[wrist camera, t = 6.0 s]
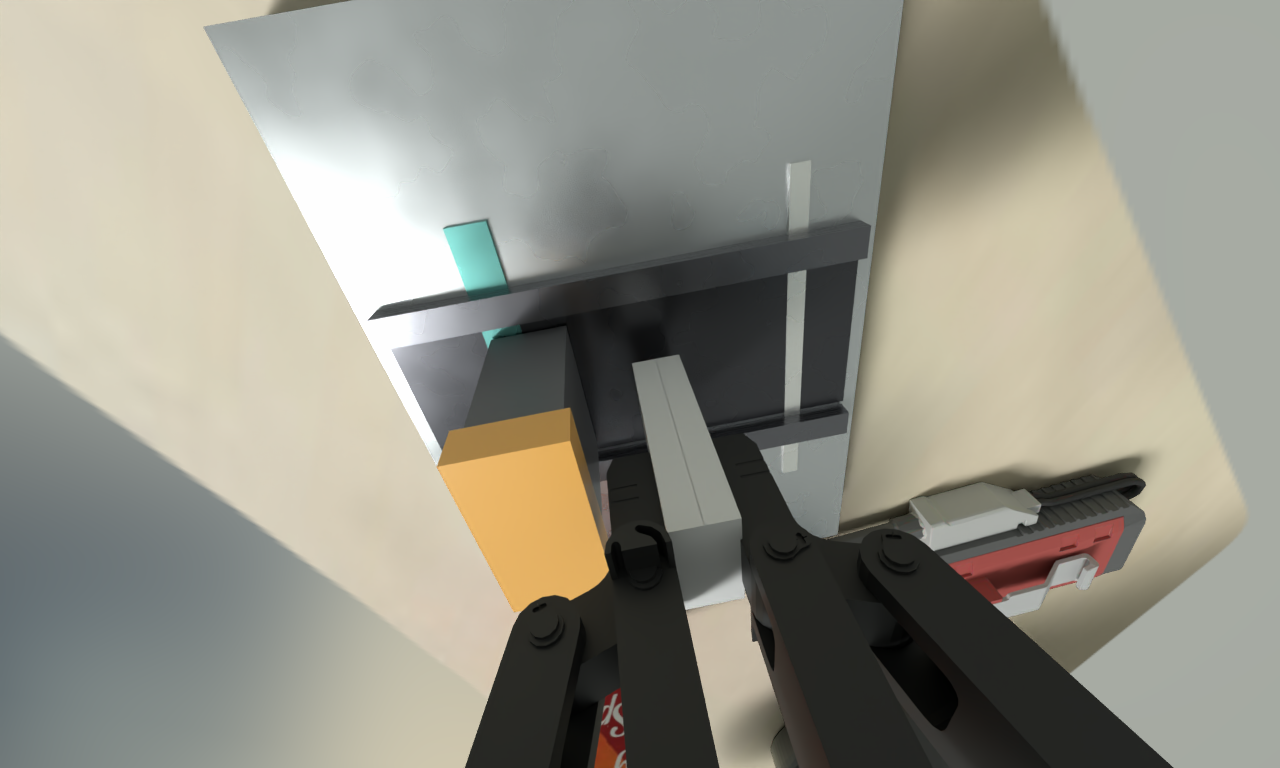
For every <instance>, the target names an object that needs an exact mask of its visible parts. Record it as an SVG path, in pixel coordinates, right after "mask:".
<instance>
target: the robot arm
mask: <svg viewBox="0 0 1280 768" xmlns="http://www.w3.org/2000/svg"><path fill="white" fill-rule="evenodd" d="M632 366H633V372H634V377H635V383H636V389H637V394H638V400H639V405H640V411H641V416H642V422H643V427H644V433H645V438H646V442H647V447H648V452H646V453H641V454H635V455H630V456H625V457H620V458H614V459H613V460H612V462H611V464H610V467H609V469H608V471H607V473H606V476H607V488H608V500H609V512H610V524H611V536H610V537H609V539H608V541H607V542H606V546H605V552H604V555H605V559H606V562H607V566H608V569H609V571H608V573H607V574H606V576H605V578H604V579H603V580H602V581H601V582H600V583H599V584H598V585H596V586H595V587H593V588H592V589H590V590H589V591H587V592H585V593H583V594H582V595H580V596H578V597H576V598H574V599H572V600H569V599H568V598H566V597H562V596H558V595H552V596H545V597H541V598H540V599H538V600H536V601H534V602H532V603H530V604H529V605H528V606H527V607H526V608H525V609H524V610H523V611H522V612H521V613H520V614H519V616H518V618H517V620H516V622H515V624H514V625H513V628H512V631H511V634H510V637H509V640H508V643H507V645H506V648H505V651H504V654H503V657H502V660H501V663H500V666H499V669H498V672H497V675H496V678H495V681H494V684H493V687H492V690H491V693H490V695H489V698H488V701H487V704H486V707H485V710H484V713H483V716H482V719H481V722H480V725H479V728H478V731H477V734H476V737H475V740H474V743H473V746H472V749H471V751H470V754H469V757H468V761H467V763H466V766H465V768H594V766H595V760H596V754H597V747H598V741H599V735H600V728H601V722H602V716H603V710H604V703H605V697H606V696H607V695H609V694H611V693H612V692H614V691H616V690H617V689H619V688H620V689H621V701H622V713H623V726H624V738H625V751H626V763H627V768H719V764H718V759H717V754H716V750H715V745H714V740H713V736H712V731H711V726H710V722H709V717H708V712H707V708H706V703H705V698H704V694H703V689H702V684H701V680H700V675H699V670H698V666H697V661H696V657H695V652H694V647H693V643H692V638H691V633H690V629H689V624H688V619H687V615H686V610H687V609H692V608H697V607H702V606H707V605H712V604H717V603H722V602H727V601H732V600H737V599H742V598H745V593H744V588H745V591H746V594H747V597H748V600H749V603H750V606H751V632H752V641H753V642H755V641H758V643H759V646H760V649H761V652H762V655H763V658H764V661H765V664H766V667H767V670H768V673H769V676H770V680H771V683H772V686H773V689H774V692H775V695H776V698H777V701H778V704H779V707H780V710H781V713H782V716H783V719H784V722H785V727H784V728H783V729H782V730H781V731H780V732H779V733H778V735H777V736H776V737H775V739H774V740H773V743H772V745H771V753H772V757H773V760H774V763H775V767H776V768H1173V767H1172V766H1171V765H1170V764H1169V763H1168V762H1166V760H1164V759H1163V758H1162V757H1161V756H1160V755H1159V754H1158V753H1157V752H1156V751H1154V750H1153V749H1152V748H1151V747H1150V746H1149V745H1148V744H1147V743H1145V742H1144V741H1143V740H1142V739H1141V738H1140V737H1139V736H1138V735H1137V734H1136V733H1134V732H1133V731H1132V730H1131V729H1130V728H1129V727H1128V726H1127V725H1126V724H1125V723H1123V722H1122V721H1121V720H1120V719H1119V718H1118V717H1117V716H1116V715H1114V714H1113V713H1112V712H1111V711H1110V710H1109V709H1108V708H1107V707H1106V706H1104V704H1102V703H1101V702H1100V701H1099V700H1098V699H1097V698H1096V697H1095V696H1094V695H1092V694H1091V693H1090V692H1089V691H1088V690H1087V689H1086V688H1085V687H1083V685H1081V684H1080V683H1079V682H1078V681H1077V680H1076V679H1075V678H1074V677H1073V676H1071V675H1070V674H1069V673H1068V672H1067V671H1066V670H1065V669H1064V668H1063V667H1061V666H1060V665H1059V664H1058V663H1057V662H1056V661H1055V660H1054V659H1053V658H1052V657H1050V656H1049V655H1048V654H1047V653H1046V652H1045V651H1044V650H1043V649H1042V648H1040V647H1039V646H1038V645H1037V644H1036V643H1035V642H1034V641H1033V640H1032V639H1030V638H1029V637H1028V636H1027V635H1026V634H1025V633H1024V632H1023V631H1022V630H1021V629H1019V628H1018V627H1017V626H1016V625H1015V624H1014V623H1013V622H1012V621H1011V620H1009V619H1008V618H1007V617H1006V616H1005V615H1004V614H1003V613H1002V612H1001V611H1000V610H998V609H997V608H996V607H995V606H994V605H993V604H992V603H991V602H990V601H988V600H987V599H986V598H985V597H984V596H983V595H982V594H981V593H980V592H978V591H977V590H976V589H975V588H974V587H973V586H972V585H971V584H970V583H969V582H967V581H966V580H965V579H964V578H963V577H962V576H961V575H960V574H959V573H957V572H956V571H955V570H954V569H953V568H952V567H951V566H950V565H949V564H947V563H946V562H945V561H944V560H943V559H942V558H941V557H940V556H939V555H938V554H936V553H935V552H934V551H933V550H932V549H931V548H930V547H929V546H928V545H926V544H925V543H924V542H922V541H921V540H919V539H918V538H917V537H915V536H914V535H912V534H909V533H906V532H903V531H901V530H896V529H885V528H884V529H880V530H875V531H872V532H870V533H869V534H868V535H867V536H865V537H864V538H863V540H862V543H850V542H839V541H831V540H826V539H822V538H820V537H817V536H814V535H812V534H811V533H809V532H808V531H807V530H805V529H804V528H802V527H801V526H800V525H799V524H798V523H797V522H796V520H795V519H794V517H793V516H792V514H791V512H790V510H789V508H788V506H787V504H786V502H785V500H784V498H783V496H782V494H781V492H780V490H779V488H778V486H777V484H776V482H775V480H774V478H773V476H772V474H771V473H770V470H769V468H768V466H767V464H766V462H765V461H764V458H763V456H762V454H761V452H760V450H759V448H758V446H757V444H756V443H755V442H753V441H752V440H751V439H750V438H748V437H747V436H746V435H745V434H743V433H739V434H734V435H728V436H723V437H718V438H713V439H711V437H710V434H709V432H708V429H707V426H706V424H705V421H704V419H703V416H702V413H701V411H700V408H699V406H698V403H697V400H696V398H695V395H694V393H693V390H692V387H691V385H690V382H689V380H688V377H687V374H686V372H685V369H684V366H683V364H682V361H681V359H680V356H679V355H673V356H668V357H663V358H657V359H652V360H647V361H641V362H636V363H632Z"/></svg>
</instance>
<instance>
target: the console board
mask: <svg viewBox="0 0 1280 768" xmlns="http://www.w3.org/2000/svg"><path fill="white" fill-rule="evenodd" d="M903 2H904V0H351V1H345V2H340V3H334V4H328V5H323V6H317V7H312V8H306V9H300V10H295V11H289V12H283V13H278V14H272V15H267V16H261V17H255V18H250V19H244V20H238V21H233V22H227V23H222V24H216V25H210V26H205V27H204V29H205V31H206V33H207V35H208V37H209V39H210V41H211V43H212V44H213V46H214V48H215V50H216V52H217V54H218V56H219V58H220V59H221V61H222V63H223V65H224V67H225V69H226V71H227V73H228V75H229V76H230V78H231V80H232V82H233V84H234V86H235V88H236V90H237V91H238V93H239V95H240V97H241V99H242V101H243V103H244V105H245V107H246V108H247V110H248V112H249V114H250V116H251V118H252V120H253V122H254V123H255V125H256V127H257V129H258V131H259V133H260V135H261V137H262V138H263V140H264V142H265V144H266V146H267V148H268V150H269V152H270V154H271V155H272V157H273V159H274V161H275V163H276V165H277V167H278V169H279V170H280V172H281V174H282V176H283V178H284V180H285V182H286V184H287V186H288V187H289V189H290V191H291V193H292V195H293V197H294V199H295V201H296V202H297V204H298V206H299V208H300V210H301V212H302V214H303V216H304V217H305V219H306V221H307V223H308V225H309V227H310V229H311V231H312V233H313V234H314V236H315V238H316V240H317V242H318V244H319V246H320V248H321V249H322V251H323V253H324V255H325V257H326V259H327V261H328V263H329V265H330V266H331V268H332V270H333V272H334V274H335V276H336V278H337V280H338V281H339V283H340V285H341V287H342V289H343V291H344V293H345V295H346V296H347V298H348V300H349V302H350V304H351V306H352V308H353V310H354V312H355V313H356V315H357V317H358V319H359V321H360V323H361V325H362V327H363V328H364V330H365V332H366V334H367V336H368V338H369V340H370V342H371V344H372V345H373V347H374V349H375V351H376V353H377V355H378V357H379V359H380V360H381V362H382V364H383V366H384V368H385V370H386V372H387V374H388V375H389V377H390V379H391V381H392V383H393V385H394V387H395V389H396V391H397V392H398V394H399V396H400V398H401V400H402V402H403V404H404V406H405V407H406V409H407V411H408V413H409V415H410V417H411V419H412V421H413V423H414V424H415V426H416V428H417V430H418V432H419V434H420V436H421V438H422V439H423V441H424V443H425V445H426V447H427V449H428V451H429V453H430V455H431V456H432V458H433V460H434V462H435V464H436V466H437V465H438V462H439V459H440V456H441V453H442V450H443V447H444V444H445V442H446V439H447V436H448V433H449V431H452V430H457V429H462V428H464V425H465V422H466V418H467V415H468V412H469V409H470V406H471V402H472V399H473V396H474V393H475V390H476V386H477V383H478V380H479V377H480V373H481V370H482V367H483V364H484V361H485V357H486V354H487V351H488V348H489V345H490V341H491V340H493V339H498V338H503V337H509V336H514V335H519V334H524V333H530V332H535V331H540V330H545V329H551V328H556V327H561V326H566V327H567V331H568V335H569V339H570V342H571V346H572V350H573V354H574V357H575V361H576V365H577V369H578V373H579V376H580V380H581V384H582V388H583V391H584V395H585V399H586V403H587V407H588V410H589V414H590V418H591V422H592V425H593V429H594V433H595V437H596V440H597V444H598V458H599V473H600V487H601V502H602V516H603V522H604V525H605V529H606V532H607V536H608V539H609V537H610V536H611V524H610V512H609V500H608V488H607V476H606V473H607V471H608V469H609V467H610V464H611V462H612V460H613V459H614V458H620V457H625V456H630V455H635V454H641V453H646V452H648V447H647V442H646V438H645V433H644V427H643V422H642V416H641V411H640V405H639V400H638V394H637V389H636V383H635V377H634V372H633V366H632V363H636V362H641V361H647V360H652V359H657V358H663V357H668V356H673V355H679V356H680V359H681V361H682V364H683V366H684V369H685V372H686V374H687V377H688V380H689V382H690V385H691V387H692V390H693V393H694V395H695V398H696V400H697V403H698V406H699V408H700V411H701V413H702V416H703V419H704V421H705V424H706V426H707V429H708V432H709V434H710V437H711V439H713V438H718V437H723V436H728V435H734V434H739V433H743V434H745V435H746V436H747V437H748V438H750V439H751V440H752V441H753V442H755V443H756V444H757V446H758V448H759V450H760V452H761V454H762V456H763V458H764V461H765V462H766V464H767V466H768V468H769V470H770V473H771V474H772V476H773V478H774V480H775V482H776V484H777V486H778V488H779V490H780V492H781V494H782V496H783V498H784V500H785V502H786V504H787V506H788V508H789V510H790V512H791V514H792V516H793V517H794V519H795V520H796V522H797V523H798V524H799V525H800V526H801V527H802V528H804V529H805V530H807V531H808V532H809V533H811V534H812V535H814V536H817V537H820V538H824V537H829V536H834V535H838V527H839V519H840V511H841V503H842V495H843V487H844V478H845V470H846V462H847V454H848V446H849V438H850V430H851V422H852V414H853V406H854V398H855V390H856V381H857V373H858V365H859V357H860V349H861V341H862V333H863V325H864V317H865V309H866V301H867V293H868V285H869V276H870V268H871V260H872V252H873V244H874V236H875V228H876V220H877V212H878V204H879V196H880V188H881V179H882V171H883V163H884V155H885V147H886V139H887V131H888V123H889V115H890V107H891V99H892V91H893V82H894V74H895V66H896V58H897V50H898V42H899V34H900V26H901V18H902V10H903Z"/></svg>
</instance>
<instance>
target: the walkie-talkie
mask: <svg viewBox="0 0 1280 768" xmlns="http://www.w3.org/2000/svg"><path fill="white" fill-rule="evenodd" d="M1145 486H1146V484H1145V482H1144V481H1143V480H1142V479H1140V478H1138V477H1137V476H1136V475H1135V474H1133V473H1119V474H1115V475H1112V476H1108V477H1104V478H1101V479H1100V478H1098V477H1096V476H1094V475H1092V474H1091V475H1090V476H1088V477H1081V478H1080V479H1077V480H1074V479H1073V480H1071V481H1070V482H1066V483H1064V482H1062V483H1060V484H1059V485H1051V486H1050V487H1048V488H1041V489H1040V490H1037V491H1035V490H1033V491H1031V492H1030V493H1029V492H1027V491H1026V490H1025V489H1021V490H1018V491H1014V492H1013V491H1012V490H1010V489H1007V488H1003V487H999V486H995V485H991V484H987V483H984V482H979V483H975V484H972V485H968V486H964V487H961V488H957V489H953V490H950V491H946V492H942V493H939V494H935V495H931V496H928V497H925V496H921V497H918V498H914V499H911V500H910V501H909V513H908V514H907V515H903V516H899V517H896V518H892V519H890V521H889V522H888V523H885V524H881V525H878V526H874V527H870V528H867V529H863V530H860V531H856V532H853V533H849V534H845V535H842V536H838V537H835V538H831V539H827V540H831V541H839V542H850V543H862V540H863V538H864V537H865V536H867V535H868V534H869V533H870V532H872V531H875V530H880V529H884V528H885V529H896V530H901V531H903V532H906V533H909V534H912V535H914V536H915V537H917V538H918V539H919V540H921V541H922V542H924V543H925V544H926V545H928V546H929V547H930V548H931V549H932V550H933V551H934V552H935V553H936V554H938V555H939V556H940V557H941V558H942V559H943V560H944V561H945V562H946V563H947V564H949V565H950V566H951V567H952V568H953V569H954V570H955V571H956V572H957V573H959V574H960V575H961V576H962V577H963V578H964V579H965V580H966V581H967V582H969V583H970V584H971V585H972V586H973V587H974V588H975V589H976V590H977V591H978V592H980V593H981V594H982V595H983V596H984V597H985V598H986V599H987V600H988V601H990V602H991V603H992V604H993V605H994V606H995V607H996V608H997V609H998V610H1000V611H1001V612H1002V613H1003V614H1004V615H1005V616H1006V617H1011V616H1015V615H1019V614H1023V613H1026V612H1030V611H1034V610H1038V609H1039V608H1040V606H1041V604H1042V602H1043V600H1044V598H1045V596H1046V594H1047V592H1048V590H1049V589H1052V588H1056V587H1060V586H1064V585H1067V584H1071V583H1075V582H1077V584H1076V587H1077V588H1078V589H1079V590H1087V589H1088V588H1089V586H1090V584H1091V582H1092V580H1093V578H1094V577H1097V576H1100V575H1102V574H1105V573H1108V572H1112V571H1116V570H1120V569H1121V568H1122V567H1123V565H1124V563H1125V561H1126V559H1127V557H1128V556H1129V554H1130V552H1131V550H1132V548H1133V546H1134V544H1135V542H1136V540H1137V538H1138V536H1139V534H1140V532H1141V530H1142V528H1143V526H1144V524H1145V521H1146V517H1145V513H1144V511H1143V510H1141V509H1140V508H1139V507H1137V506H1136V505H1135V504H1134V503H1132V502H1131V501H1130V500H1129V499H1132V498H1134V497H1135V496H1137V495H1138V494H1140V493H1141V491H1142V490H1143V489H1144V487H1145Z"/></svg>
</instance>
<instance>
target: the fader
mask: <svg viewBox="0 0 1280 768" xmlns="http://www.w3.org/2000/svg"><path fill="white" fill-rule="evenodd" d="M437 469H438V471H439V472H440V474H441V476H442V478H443V480H444V482H445V484H446V486H447V487H448V489H449V491H450V493H451V495H452V497H453V499H454V501H455V502H456V504H457V506H458V508H459V510H460V512H461V514H462V516H463V517H464V519H465V521H466V523H467V525H468V527H469V529H470V531H471V532H472V534H473V536H474V538H475V540H476V542H477V544H478V546H479V548H480V549H481V551H482V553H483V555H484V557H485V559H486V561H487V563H488V564H489V566H490V568H491V570H492V572H493V574H494V576H495V578H496V579H497V581H498V583H499V585H500V587H501V589H502V591H503V593H504V594H505V596H506V598H507V600H508V602H509V604H510V606H511V608H512V610H513V611H514V612H518V611H523V610H524V609H525V608H526V607H527V606H528V605H529V604H530V603H532V602H534V601H536V600H538V599H540V598H541V597H545V596H552V595H558V596H562V597H566V598H568V599H569V600H572V599H574V598H576V597H578V596H580V595H582V594H583V593H585V592H587V591H589V590H590V589H592V588H593V587H595V586H596V585H598V584H599V583H600V582H601V581H602V580H603V579H604V578H605V576H606V574H607V573H608V571H609V569H608V566H607V562H606V559H605V555H604V552H605V546H606V542H607V541H608V536H607V532H606V529H605V525H604V522H603V516H602V502H601V487H600V473H599V458H598V444H597V440H596V437H595V433H594V429H593V425H592V422H591V418H590V414H589V410H588V407H587V403H586V399H585V395H584V391H583V388H582V384H581V380H580V376H579V373H578V369H577V365H576V361H575V357H574V354H573V350H572V346H571V342H570V339H569V335H568V331H567V327H566V326H561V327H556V328H551V329H545V330H540V331H535V332H530V333H524V334H519V335H514V336H509V337H503V338H498V339H493V340H491V341H490V345H489V348H488V351H487V354H486V357H485V361H484V364H483V367H482V370H481V373H480V377H479V380H478V383H477V386H476V390H475V393H474V396H473V399H472V402H471V406H470V409H469V412H468V415H467V418H466V422H465V425H464V428H462V429H457V430H452V431H449V433H448V436H447V439H446V442H445V444H444V447H443V450H442V453H441V456H440V459H439V462H438V465H437Z"/></svg>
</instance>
